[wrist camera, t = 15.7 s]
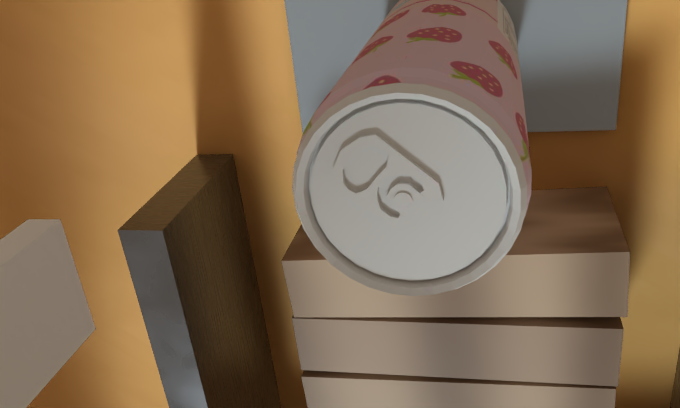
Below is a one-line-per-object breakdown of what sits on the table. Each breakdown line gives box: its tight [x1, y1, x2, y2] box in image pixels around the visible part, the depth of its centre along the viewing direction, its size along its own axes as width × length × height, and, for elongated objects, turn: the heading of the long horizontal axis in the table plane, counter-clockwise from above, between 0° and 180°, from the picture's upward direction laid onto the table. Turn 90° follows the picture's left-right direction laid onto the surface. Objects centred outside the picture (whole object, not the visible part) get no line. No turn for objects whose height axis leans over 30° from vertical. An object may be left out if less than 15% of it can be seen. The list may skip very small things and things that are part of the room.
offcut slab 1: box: [281, 186, 630, 317], centre depth 29 cm, size 14×3×6 cm, turn 100°
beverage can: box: [292, 0, 532, 296], centre depth 21 cm, size 6×6×15 cm
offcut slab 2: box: [292, 315, 623, 387], centre depth 31 cm, size 14×3×6 cm, turn 97°
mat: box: [285, 0, 627, 132], centre depth 28 cm, size 14×8×1 cm, turn 97°
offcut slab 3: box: [301, 370, 616, 408], centre depth 32 cm, size 14×3×6 cm, turn 98°
